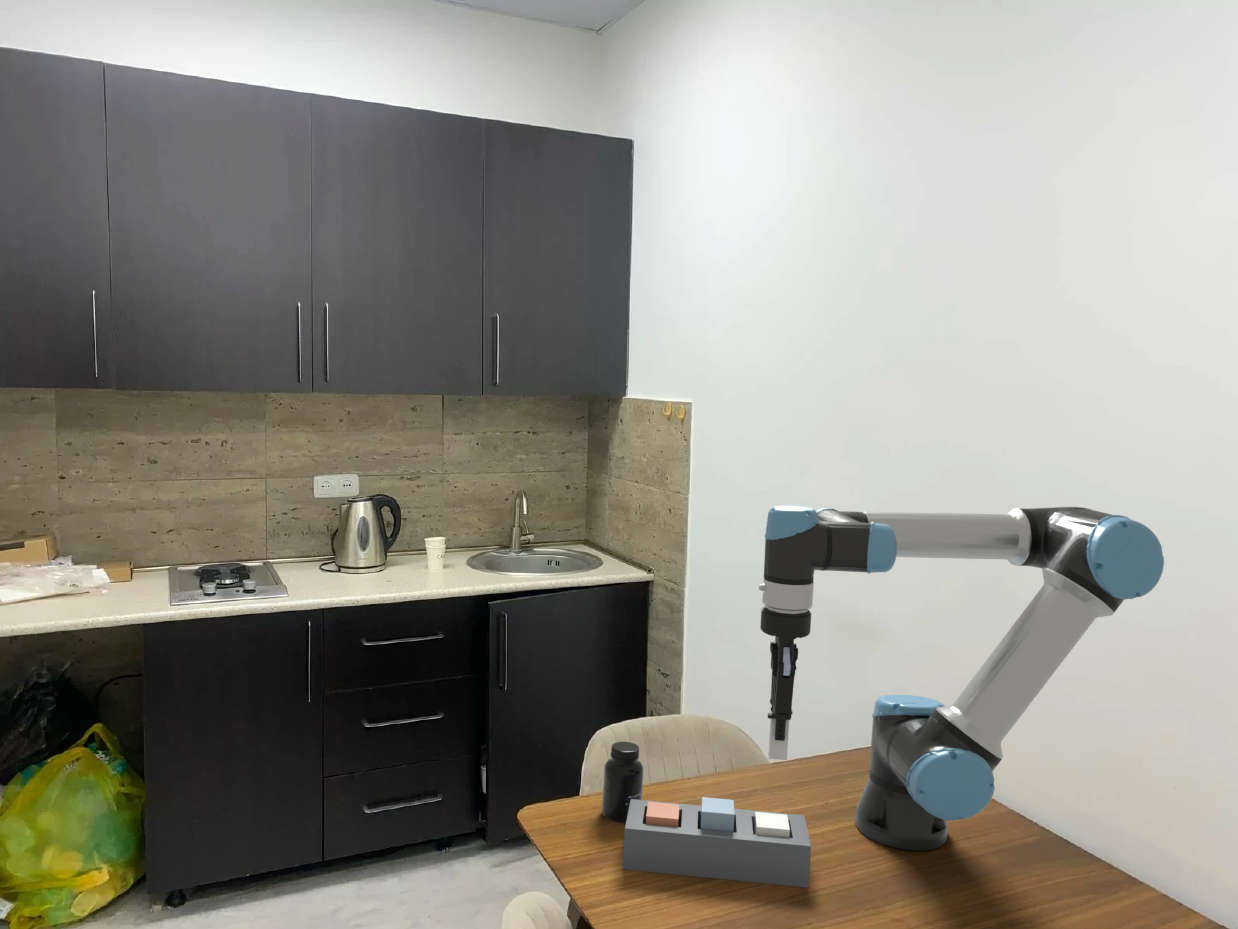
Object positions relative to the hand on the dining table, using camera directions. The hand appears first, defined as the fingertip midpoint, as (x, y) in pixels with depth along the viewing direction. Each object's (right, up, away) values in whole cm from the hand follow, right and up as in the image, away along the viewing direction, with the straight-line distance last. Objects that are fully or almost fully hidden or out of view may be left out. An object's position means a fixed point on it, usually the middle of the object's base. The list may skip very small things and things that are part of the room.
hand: (777, 757), depth 139 cm
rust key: (-18, -14, +3) cm, 23 cm away
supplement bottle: (-24, -15, +17) cm, 33 cm away
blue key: (-9, -13, +2) cm, 16 cm away
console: (-9, -17, +2) cm, 20 cm away
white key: (-1, -15, +1) cm, 15 cm away
